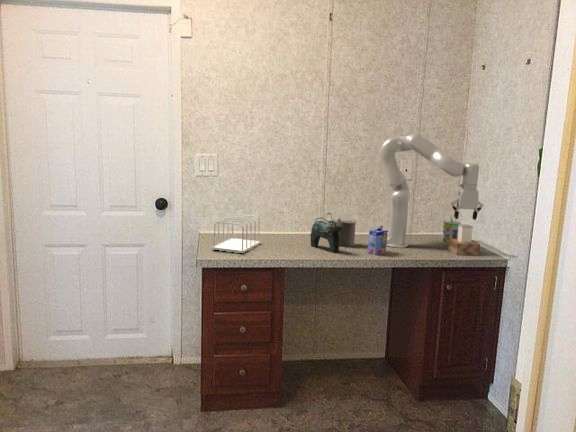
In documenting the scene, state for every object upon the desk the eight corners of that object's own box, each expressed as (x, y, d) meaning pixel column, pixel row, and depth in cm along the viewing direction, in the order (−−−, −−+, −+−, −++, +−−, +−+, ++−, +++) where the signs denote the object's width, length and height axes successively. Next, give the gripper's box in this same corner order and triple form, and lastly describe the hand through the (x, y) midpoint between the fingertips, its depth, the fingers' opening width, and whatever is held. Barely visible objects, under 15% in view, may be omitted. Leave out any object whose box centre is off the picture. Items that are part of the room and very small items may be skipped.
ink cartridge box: (375, 255, 258) (377, 227, 256) (367, 253, 262) (368, 226, 259) (386, 252, 265) (388, 225, 263) (377, 250, 269) (379, 223, 266)
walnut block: (456, 254, 264) (457, 243, 263) (448, 249, 276) (449, 238, 275) (478, 255, 265) (480, 244, 264) (469, 249, 277) (470, 239, 276)
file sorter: (243, 254, 252) (243, 224, 249) (211, 251, 257) (211, 221, 254) (260, 244, 275) (261, 216, 272) (231, 241, 280) (231, 213, 278)
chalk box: (459, 243, 292) (462, 218, 289) (443, 242, 294) (445, 217, 291) (457, 240, 301) (460, 215, 298) (441, 239, 303) (443, 214, 300)
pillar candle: (337, 247, 274) (339, 219, 271) (335, 242, 283) (337, 216, 281) (355, 247, 274) (357, 220, 271) (352, 243, 284) (354, 217, 281)
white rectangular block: (461, 242, 267) (462, 226, 265) (457, 240, 272) (458, 224, 271) (471, 242, 267) (472, 226, 265) (467, 240, 272) (468, 224, 271)
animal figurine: (342, 252, 262) (344, 214, 258) (333, 254, 258) (335, 215, 254) (315, 245, 277) (317, 209, 273) (307, 246, 272) (308, 210, 269)
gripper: (455, 187, 260) (451, 219, 264) (488, 188, 261) (484, 221, 264) (450, 185, 268) (446, 216, 271) (482, 187, 269) (478, 218, 272)
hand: (465, 219), depth 268 cm, fingers open, 9 cm apart
